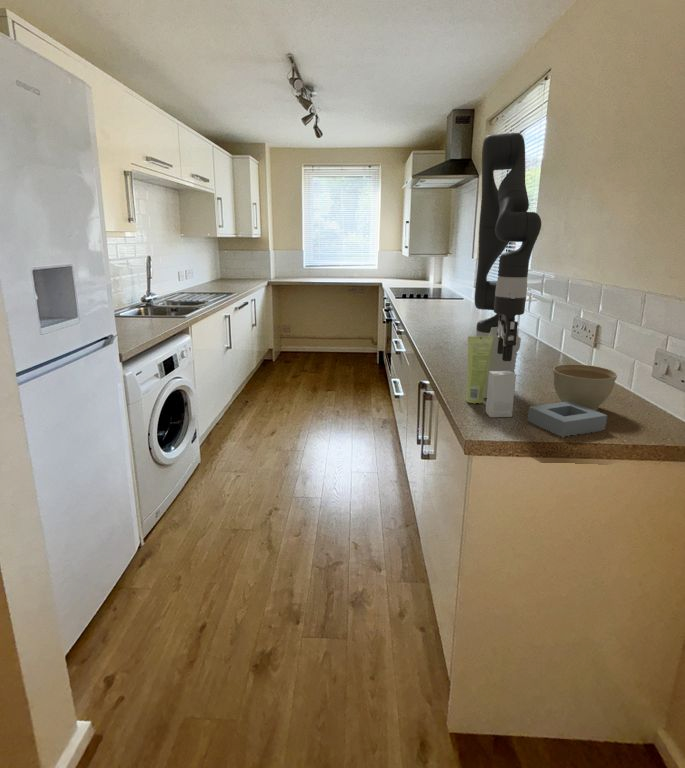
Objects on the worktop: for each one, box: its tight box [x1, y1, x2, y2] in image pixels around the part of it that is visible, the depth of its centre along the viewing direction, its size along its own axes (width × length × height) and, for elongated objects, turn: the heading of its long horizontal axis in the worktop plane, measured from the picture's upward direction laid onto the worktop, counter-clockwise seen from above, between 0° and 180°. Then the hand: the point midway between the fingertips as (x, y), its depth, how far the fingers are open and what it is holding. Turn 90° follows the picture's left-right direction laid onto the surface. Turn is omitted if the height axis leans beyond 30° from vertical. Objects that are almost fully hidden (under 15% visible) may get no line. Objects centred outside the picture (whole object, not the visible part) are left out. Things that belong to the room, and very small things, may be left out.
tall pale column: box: [483, 327, 522, 398], centre depth 145 cm, size 11×4×22 cm, turn 93°
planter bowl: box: [552, 363, 618, 411], centre depth 139 cm, size 16×16×11 cm
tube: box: [465, 335, 493, 405], centre depth 142 cm, size 6×5×20 cm
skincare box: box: [485, 371, 517, 418], centre depth 131 cm, size 6×4×12 cm
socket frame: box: [527, 401, 608, 438], centre depth 126 cm, size 12×14×4 cm
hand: (503, 357), depth 128 cm, fingers open, 8 cm apart
